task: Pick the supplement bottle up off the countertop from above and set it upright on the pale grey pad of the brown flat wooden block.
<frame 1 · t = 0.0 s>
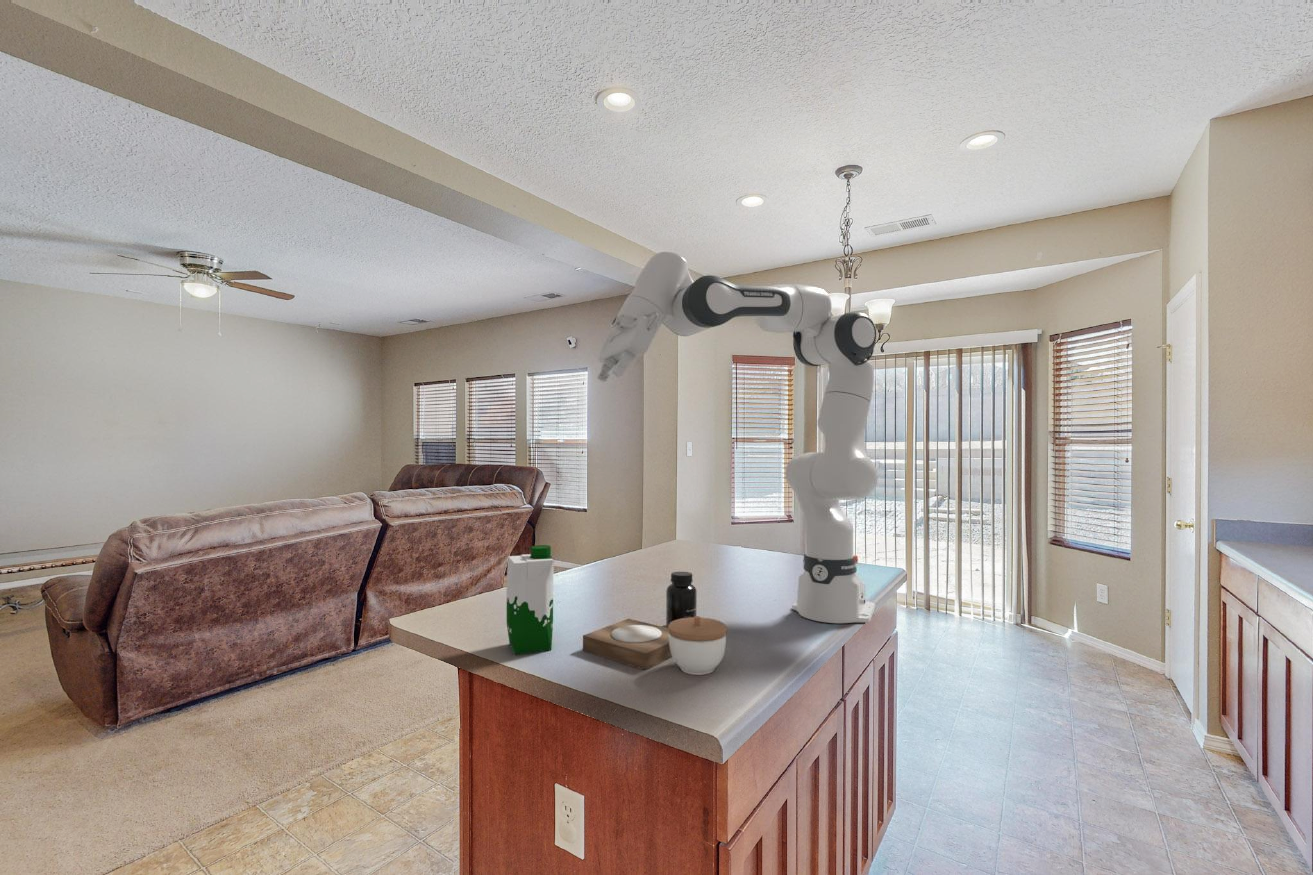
hand: (608, 377, 114), 54 cm above the countertop, tool tilted 30°, fingers open, 8 cm apart
brown flat wooden block: (636, 649, 113), on the countertop
lidded jar: (697, 669, 103), on the countertop
milk carton: (529, 648, 114), on the countertop
supplement bottle: (681, 628, 127), on the countertop
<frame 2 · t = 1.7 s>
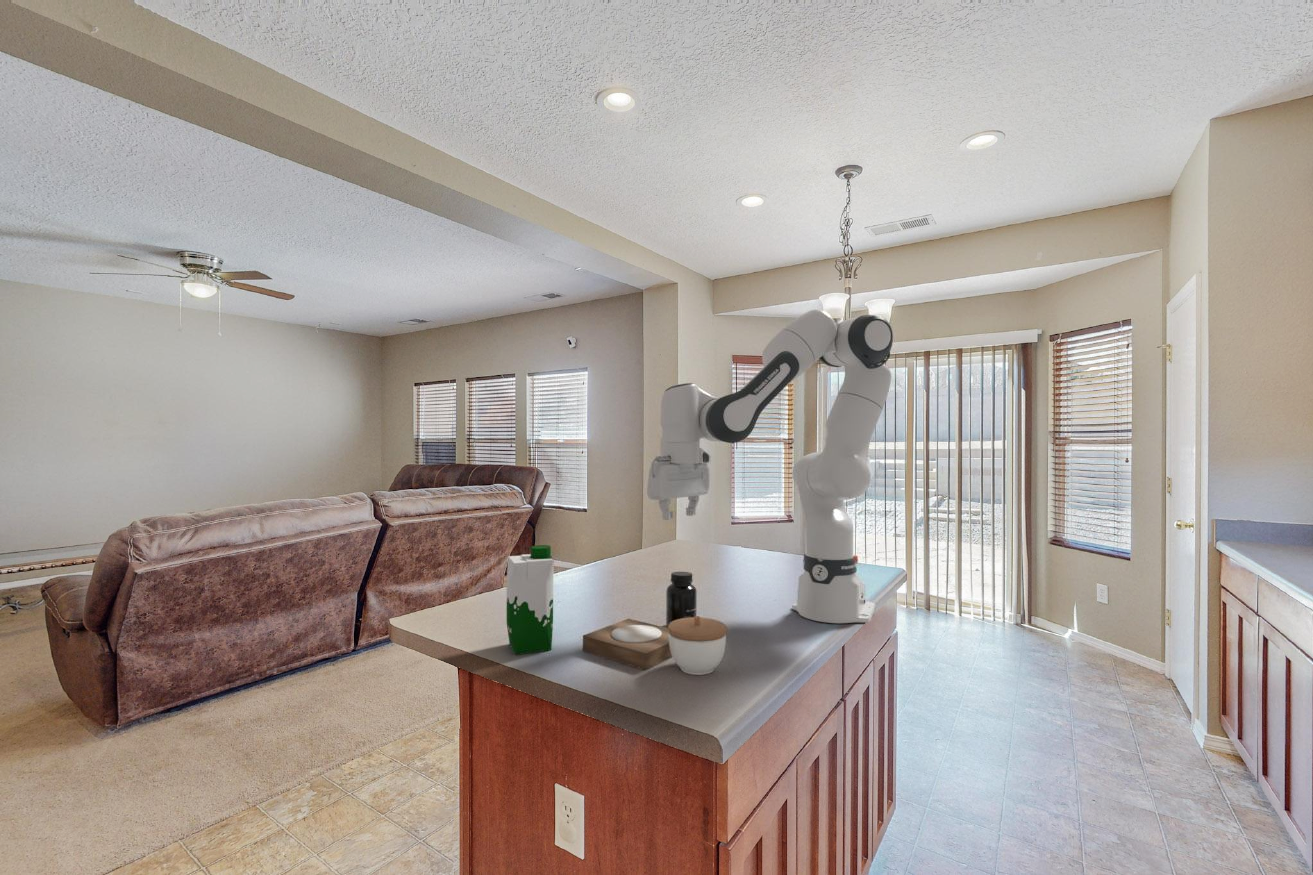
hand: (679, 517, 127), 25 cm above the countertop, tool pointing down, fingers open, 8 cm apart
nothing on the countertop moved.
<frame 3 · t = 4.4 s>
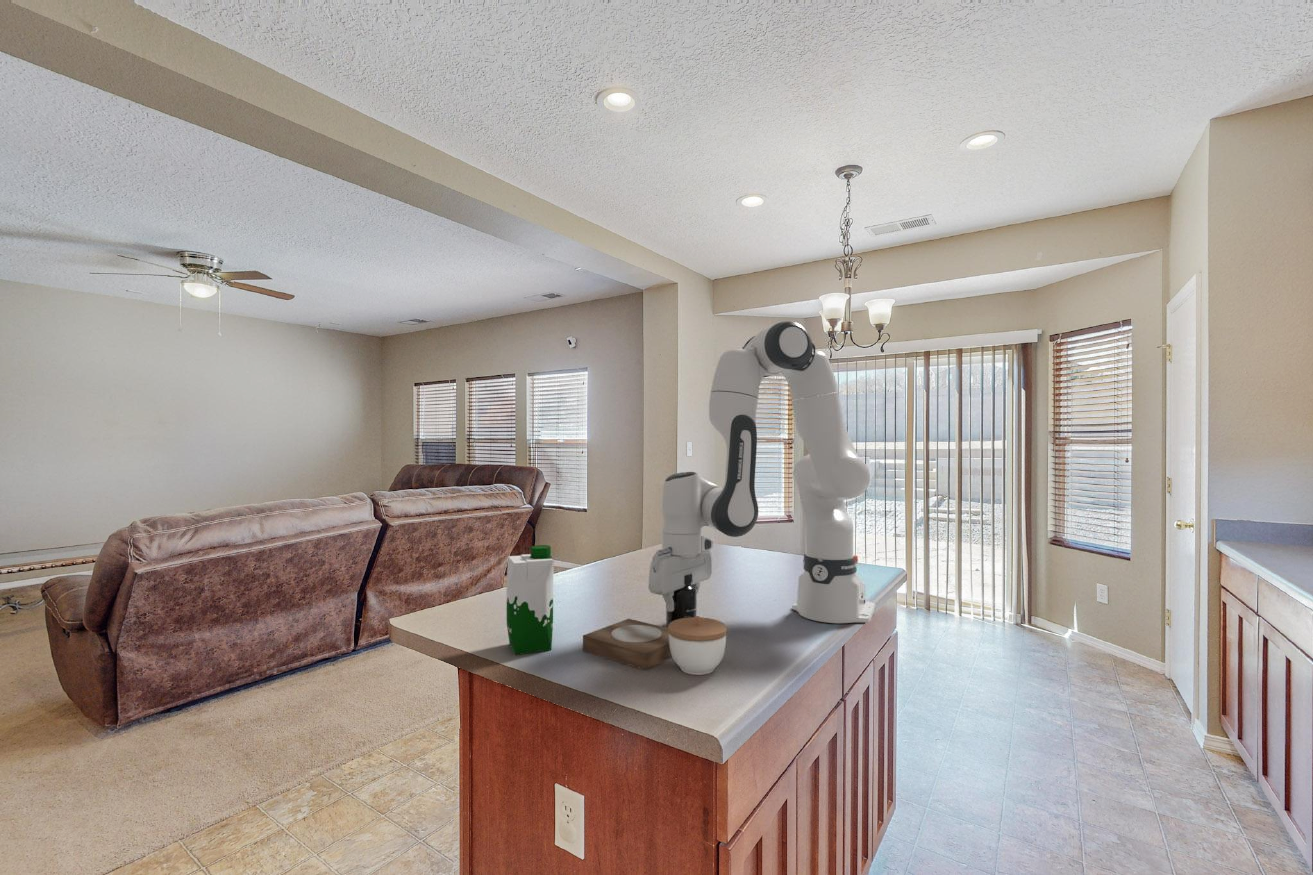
hand: (681, 606, 127), 5 cm above the countertop, tool pointing down, fingers closed on supplement bottle, 7 cm apart
supplement bottle: (681, 628, 127), on the countertop, touching gripper
everything else where it was.
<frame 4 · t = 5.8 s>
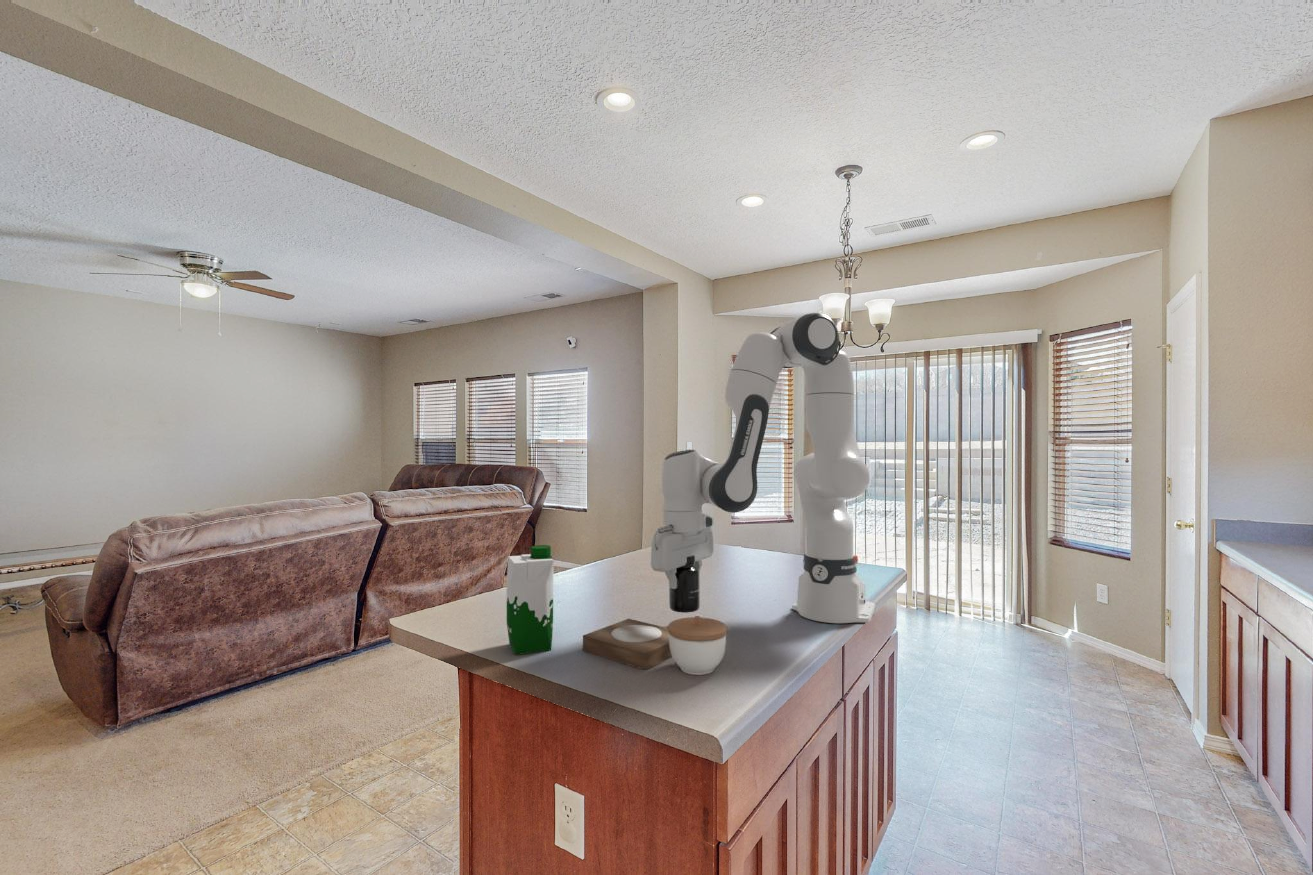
hand: (684, 584, 127), 10 cm above the countertop, tool pointing down, fingers closed on supplement bottle, 6 cm apart
supplement bottle: (684, 609, 127), point 4 cm above the countertop, touching gripper
everything else where it was.
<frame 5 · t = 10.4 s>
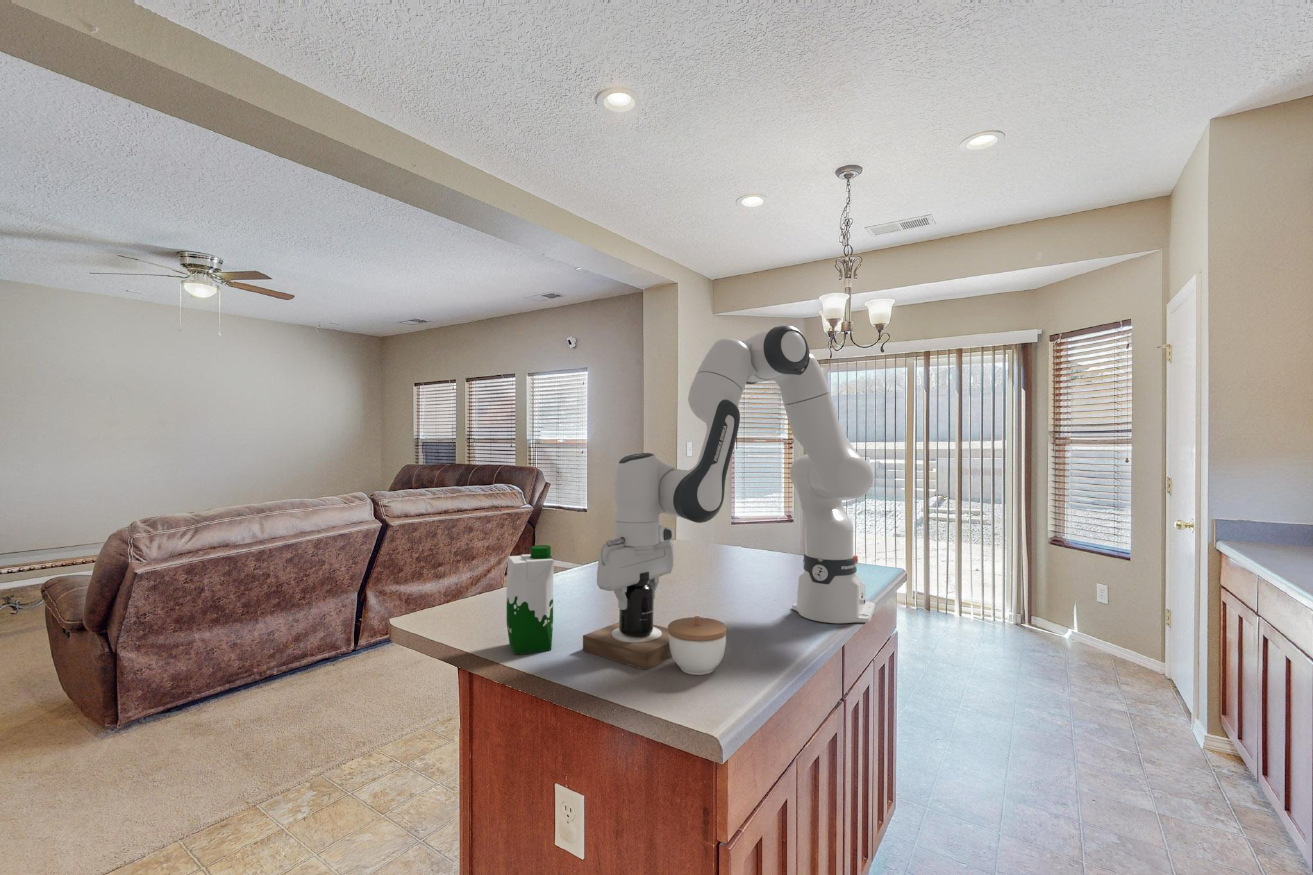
hand: (637, 604, 113), 9 cm above the countertop, tool pointing down, fingers closed on supplement bottle, 6 cm apart
supplement bottle: (636, 632, 113), point 3 cm above the countertop, touching gripper
everything else where it was.
when the fingers open (9 cm above the countertop, at t = 11.0 s): supplement bottle stays where it is, resting on brown flat wooden block.
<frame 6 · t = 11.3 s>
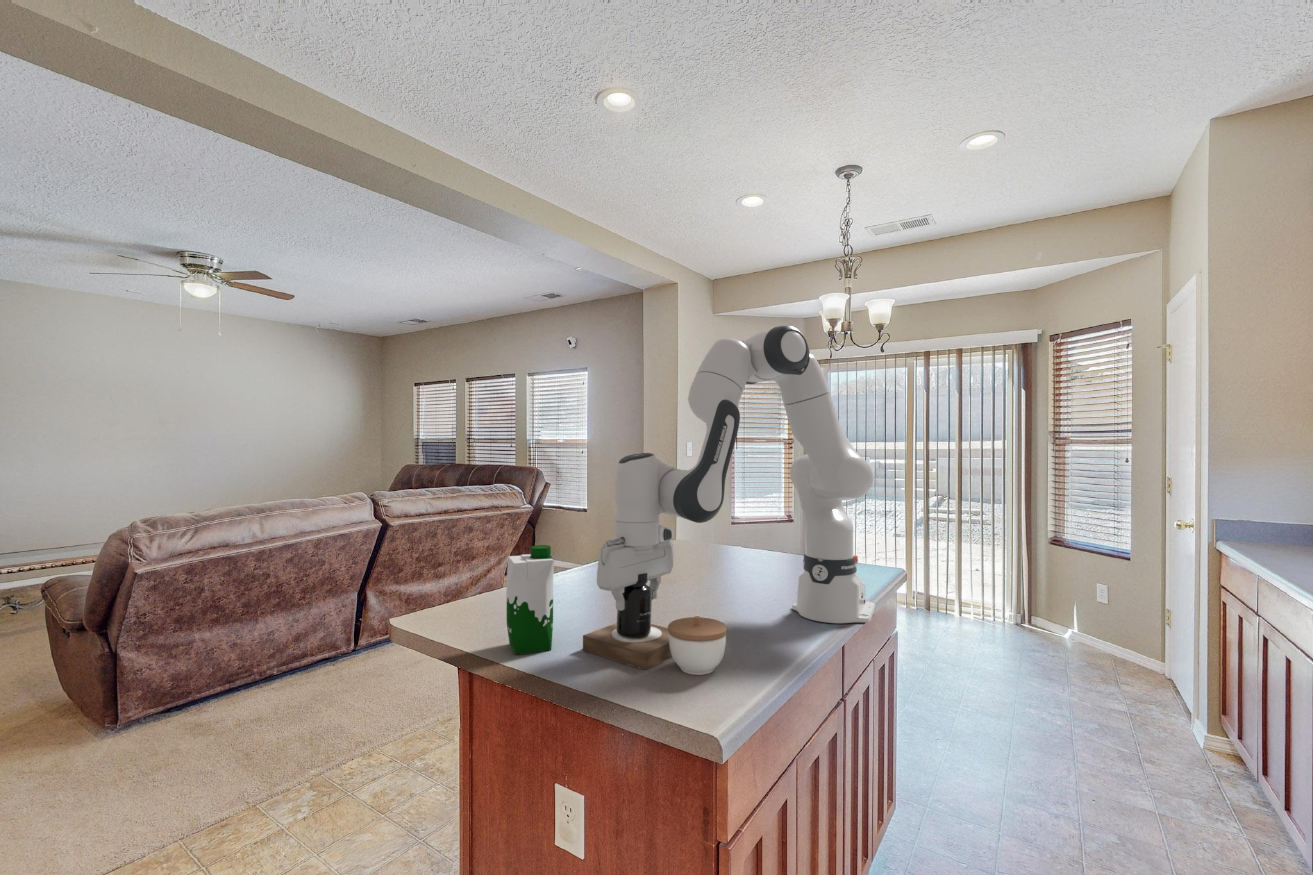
hand: (637, 604, 113), 9 cm above the countertop, tool pointing down, fingers open, 8 cm apart
supplement bottle: (633, 634, 112), point 3 cm above the countertop, touching gripper, brown flat wooden block
everything else where it was.
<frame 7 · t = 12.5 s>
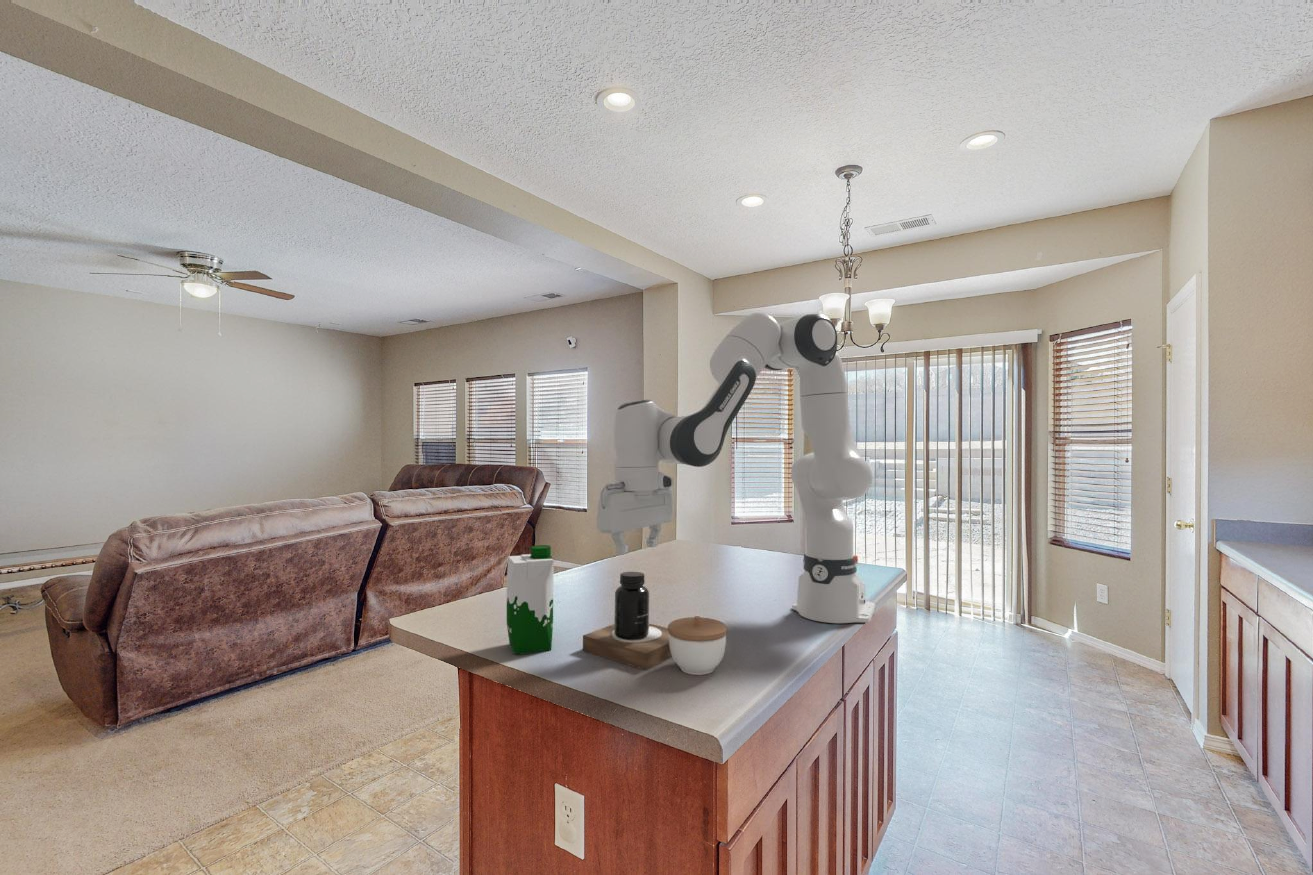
hand: (637, 550, 113), 20 cm above the countertop, tool pointing down, fingers open, 8 cm apart
supplement bottle: (631, 636, 112), point 3 cm above the countertop, touching brown flat wooden block
everything else where it was.
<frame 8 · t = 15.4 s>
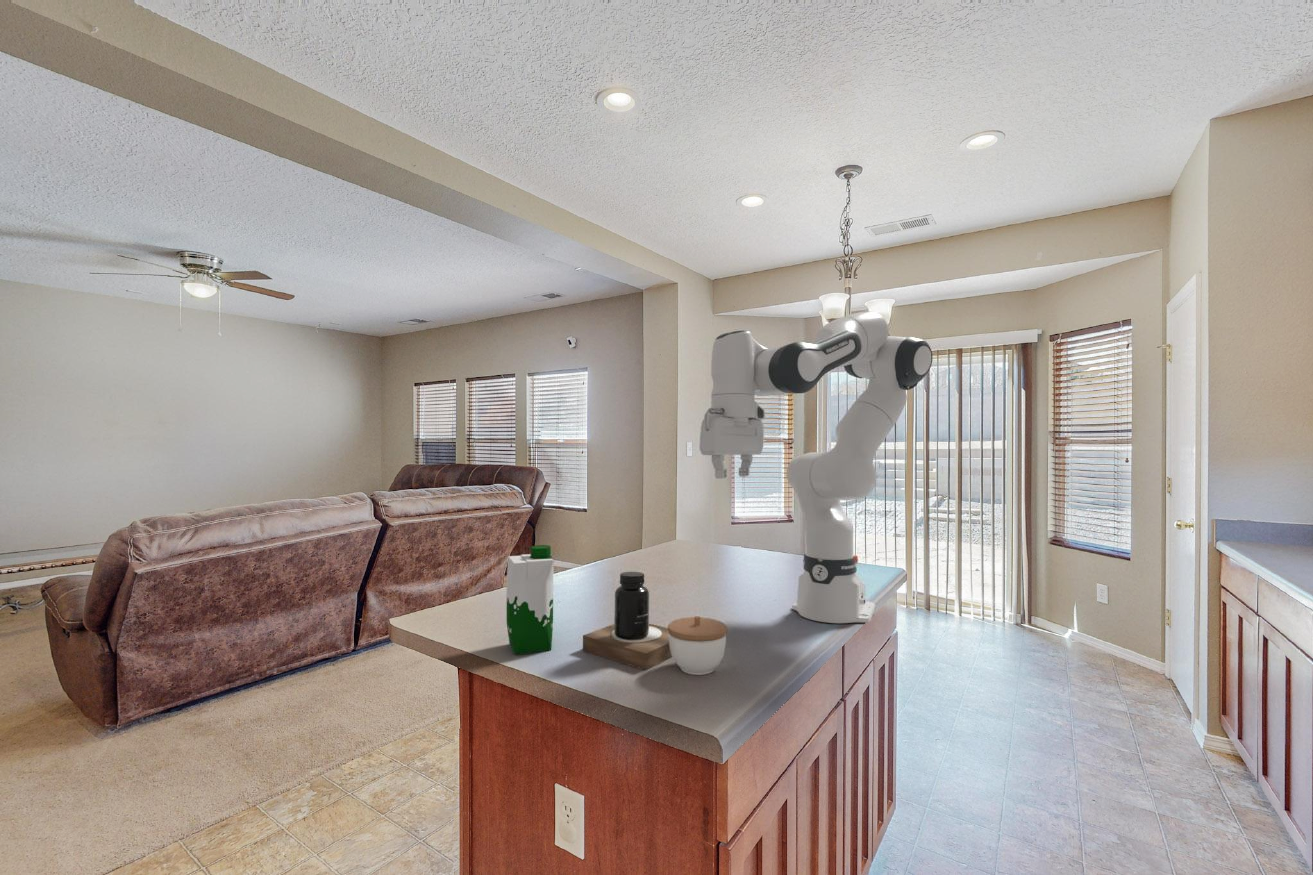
hand: (732, 477, 116), 34 cm above the countertop, tool pointing down, fingers open, 8 cm apart
nothing on the countertop moved.
at the end: supplement bottle inside the target area on the brown flat wooden block (1.6 cm from its centre), point 3.1 cm above the brown flat wooden block's base; supplement bottle tilted 0°; the gripper is holding nothing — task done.
